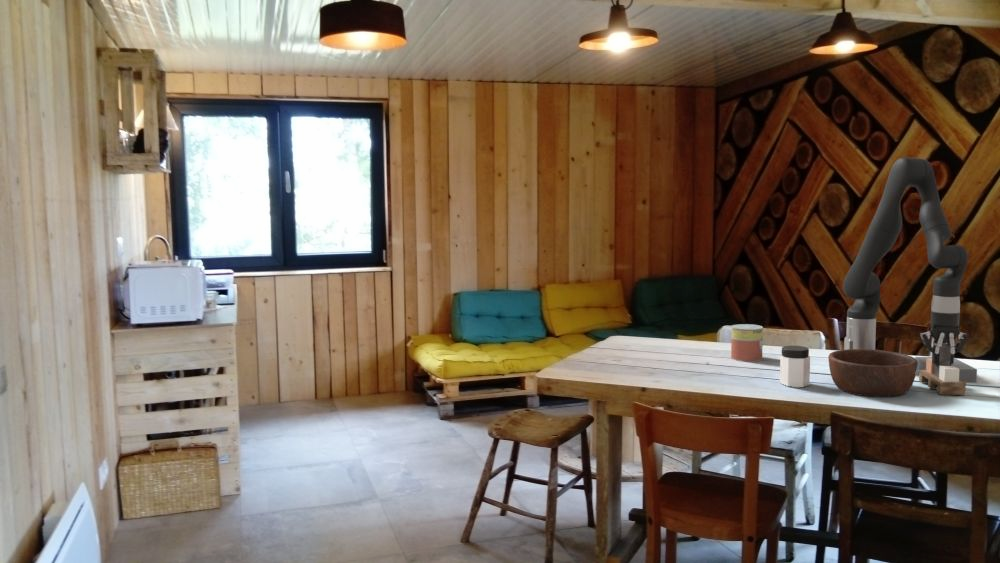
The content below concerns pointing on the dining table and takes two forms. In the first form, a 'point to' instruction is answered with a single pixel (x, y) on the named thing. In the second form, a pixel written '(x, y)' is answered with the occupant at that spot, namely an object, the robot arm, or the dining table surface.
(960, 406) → the dining table surface
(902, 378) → the wooden bowl
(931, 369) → the cargo terracotta
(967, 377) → the dock
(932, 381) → the pallet
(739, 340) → the canned food
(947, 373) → the block
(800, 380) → the jar
